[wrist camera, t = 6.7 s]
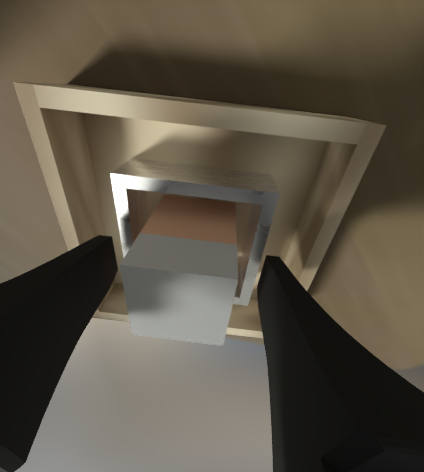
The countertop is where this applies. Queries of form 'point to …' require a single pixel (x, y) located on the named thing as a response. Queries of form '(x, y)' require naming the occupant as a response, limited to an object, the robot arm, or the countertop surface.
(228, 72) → the countertop surface
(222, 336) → the tan-topped block
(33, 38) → the countertop surface
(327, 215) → the walled box
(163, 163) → the frame
